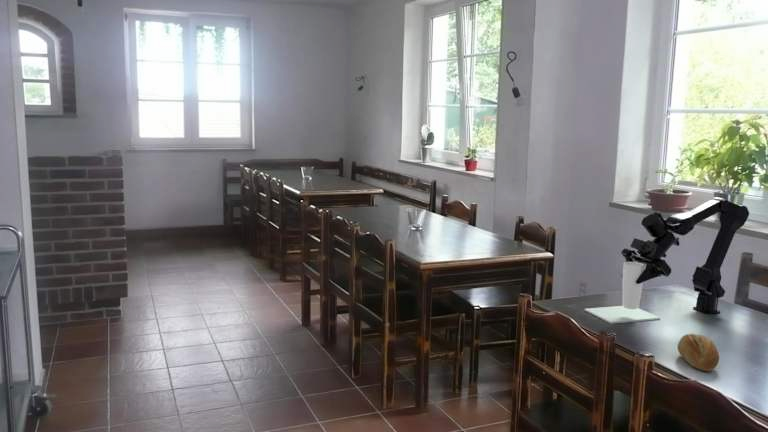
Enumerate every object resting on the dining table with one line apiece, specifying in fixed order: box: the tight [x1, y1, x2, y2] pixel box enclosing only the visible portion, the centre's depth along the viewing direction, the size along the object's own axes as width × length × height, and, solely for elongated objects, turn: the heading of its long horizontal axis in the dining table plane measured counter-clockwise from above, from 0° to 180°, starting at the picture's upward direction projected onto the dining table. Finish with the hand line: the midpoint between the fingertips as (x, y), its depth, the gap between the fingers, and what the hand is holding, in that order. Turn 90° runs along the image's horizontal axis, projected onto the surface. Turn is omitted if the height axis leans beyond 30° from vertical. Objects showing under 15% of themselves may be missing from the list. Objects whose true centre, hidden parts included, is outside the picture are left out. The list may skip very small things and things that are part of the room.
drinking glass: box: [621, 261, 646, 309], centre depth 217 cm, size 7×7×15 cm
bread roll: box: [677, 333, 720, 372], centre depth 181 cm, size 10×15×8 cm, turn 175°
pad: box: [583, 305, 661, 325], centre depth 222 cm, size 20×14×1 cm
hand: (629, 280), depth 217 cm, fingers closed on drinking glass, 7 cm apart
